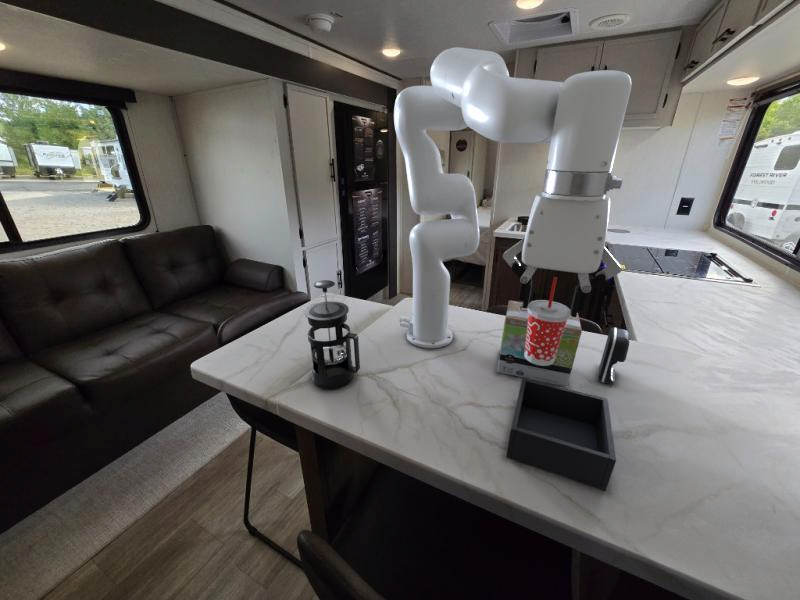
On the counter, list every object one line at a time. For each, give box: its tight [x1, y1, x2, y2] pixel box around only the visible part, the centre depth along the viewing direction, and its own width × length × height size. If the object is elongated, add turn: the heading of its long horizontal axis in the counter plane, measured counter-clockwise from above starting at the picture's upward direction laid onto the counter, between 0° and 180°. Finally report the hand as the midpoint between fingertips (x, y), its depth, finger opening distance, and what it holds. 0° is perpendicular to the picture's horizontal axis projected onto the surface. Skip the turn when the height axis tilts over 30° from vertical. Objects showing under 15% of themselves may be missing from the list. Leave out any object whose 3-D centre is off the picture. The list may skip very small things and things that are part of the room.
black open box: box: [505, 377, 617, 492], centre depth 59 cm, size 15×15×6 cm
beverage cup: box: [524, 276, 571, 366], centre depth 53 cm, size 6×6×14 cm
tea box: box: [497, 300, 583, 388], centre depth 77 cm, size 15×10×15 cm, turn 70°
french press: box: [304, 279, 361, 391], centre depth 72 cm, size 12×9×23 cm
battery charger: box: [597, 327, 630, 385], centre depth 74 cm, size 7×4×11 cm, turn 149°
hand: (549, 308), depth 52 cm, fingers closed on beverage cup, 6 cm apart
